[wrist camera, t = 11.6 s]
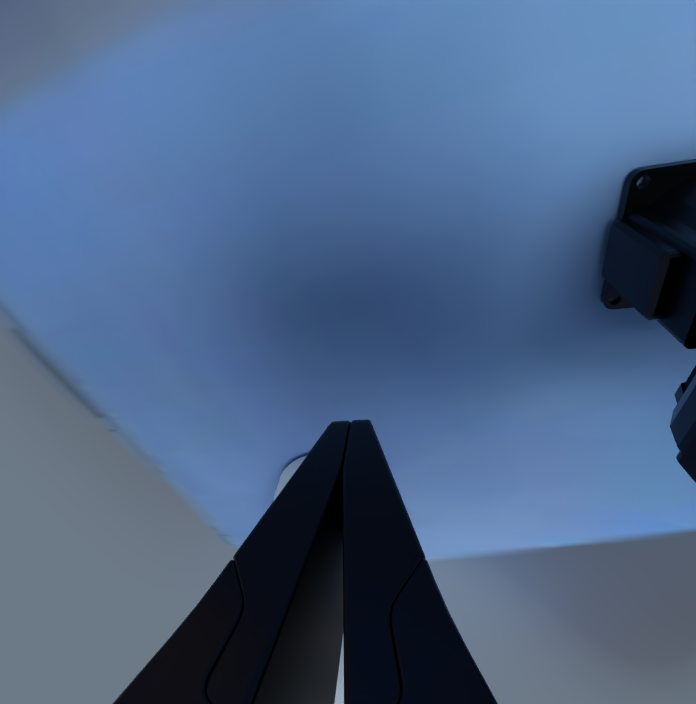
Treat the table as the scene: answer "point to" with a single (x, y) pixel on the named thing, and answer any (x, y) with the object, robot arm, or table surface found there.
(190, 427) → the table surface
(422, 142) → the table surface
